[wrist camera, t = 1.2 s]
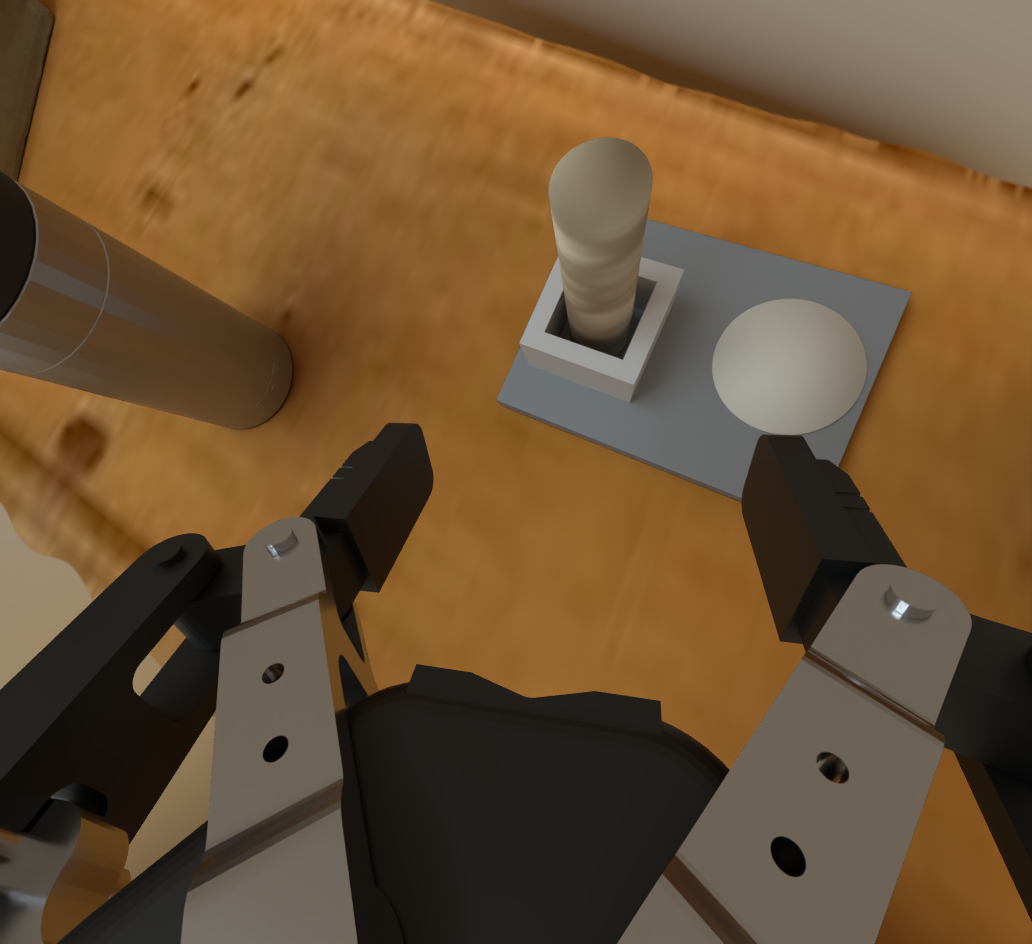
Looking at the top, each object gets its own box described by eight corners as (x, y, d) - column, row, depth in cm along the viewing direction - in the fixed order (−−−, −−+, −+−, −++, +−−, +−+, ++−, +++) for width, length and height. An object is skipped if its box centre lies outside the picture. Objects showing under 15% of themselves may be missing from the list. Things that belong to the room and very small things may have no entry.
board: (501, 405, 33) (481, 382, 28) (585, 216, 34) (582, 157, 28) (802, 526, 28) (849, 527, 23) (895, 303, 29) (963, 253, 23)
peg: (562, 351, 31) (532, 216, 17) (584, 300, 31) (572, 127, 18) (615, 370, 30) (627, 244, 17) (638, 318, 30) (669, 150, 17)
